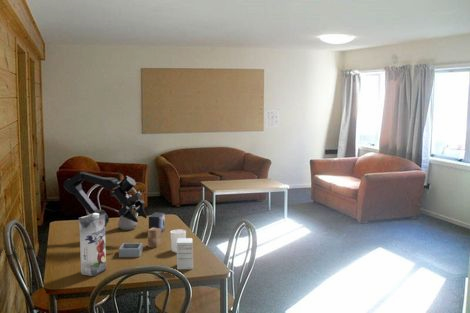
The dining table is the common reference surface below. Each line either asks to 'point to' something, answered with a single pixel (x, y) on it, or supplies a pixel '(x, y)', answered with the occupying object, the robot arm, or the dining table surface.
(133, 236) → the dining table surface
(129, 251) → the open box
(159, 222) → the small box
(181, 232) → the white cup
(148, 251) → the dining table surface
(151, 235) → the tan upright block
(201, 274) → the dining table surface
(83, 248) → the juice carton
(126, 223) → the coffee pot
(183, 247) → the supplement box
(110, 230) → the dining table surface
